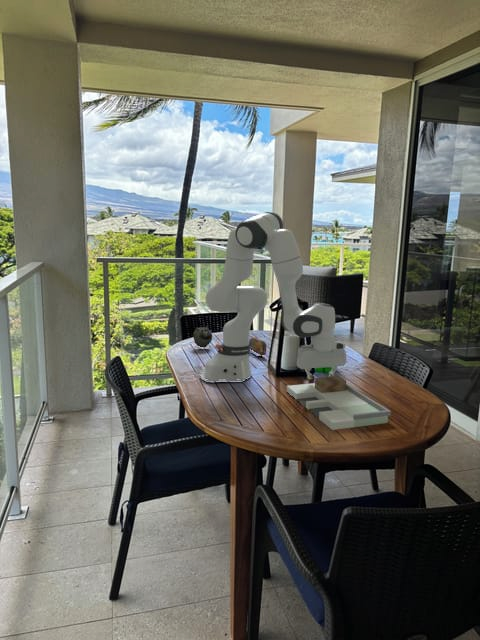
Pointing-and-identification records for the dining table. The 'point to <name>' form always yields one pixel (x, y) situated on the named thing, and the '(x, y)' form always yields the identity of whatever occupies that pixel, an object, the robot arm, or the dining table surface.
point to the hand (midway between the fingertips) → (320, 377)
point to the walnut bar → (330, 384)
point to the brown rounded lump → (258, 346)
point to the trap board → (340, 406)
